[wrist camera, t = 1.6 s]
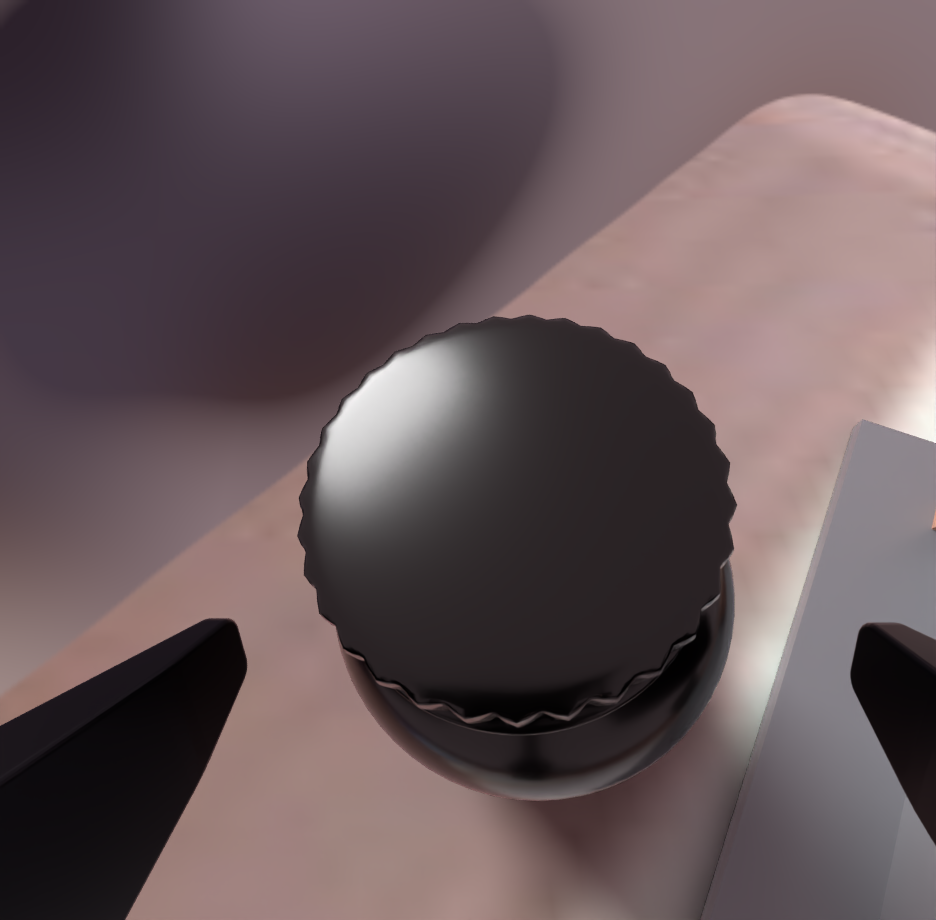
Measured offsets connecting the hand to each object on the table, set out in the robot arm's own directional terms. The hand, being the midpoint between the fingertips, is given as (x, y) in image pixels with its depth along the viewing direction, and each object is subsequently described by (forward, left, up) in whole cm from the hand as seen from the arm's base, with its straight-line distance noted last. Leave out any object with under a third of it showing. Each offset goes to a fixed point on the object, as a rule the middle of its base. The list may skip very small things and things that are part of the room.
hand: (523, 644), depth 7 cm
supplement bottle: (+1, -1, -9) cm, 9 cm away
